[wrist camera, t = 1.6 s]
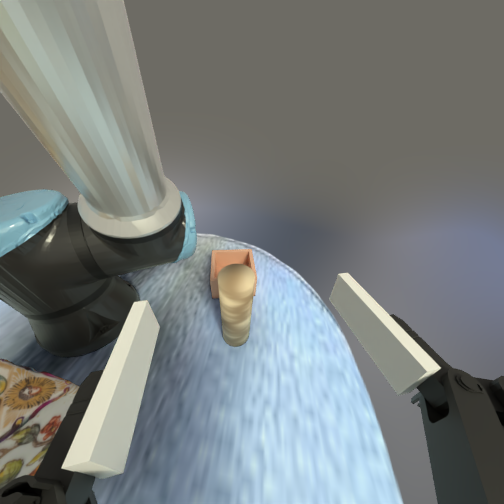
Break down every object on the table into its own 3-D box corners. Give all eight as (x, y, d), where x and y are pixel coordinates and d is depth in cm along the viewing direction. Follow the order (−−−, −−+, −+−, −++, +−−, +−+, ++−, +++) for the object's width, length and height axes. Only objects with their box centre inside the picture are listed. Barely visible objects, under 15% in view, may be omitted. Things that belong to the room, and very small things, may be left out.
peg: (222, 348, 32) (217, 292, 22) (222, 321, 36) (217, 264, 26) (250, 345, 33) (257, 290, 22) (247, 319, 37) (252, 262, 26)
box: (212, 298, 40) (209, 280, 36) (214, 267, 47) (212, 250, 43) (255, 295, 41) (257, 278, 37) (250, 266, 48) (251, 249, 45)
